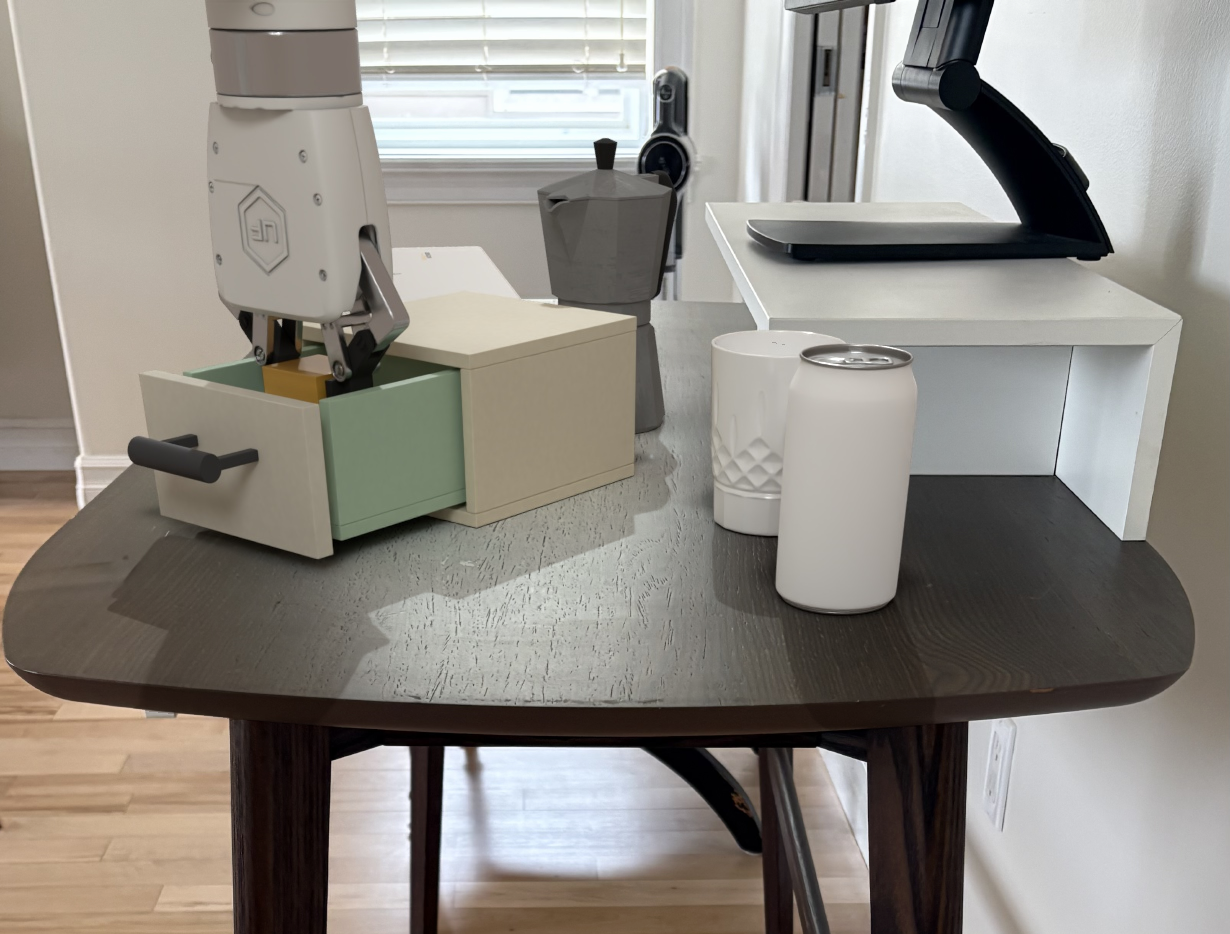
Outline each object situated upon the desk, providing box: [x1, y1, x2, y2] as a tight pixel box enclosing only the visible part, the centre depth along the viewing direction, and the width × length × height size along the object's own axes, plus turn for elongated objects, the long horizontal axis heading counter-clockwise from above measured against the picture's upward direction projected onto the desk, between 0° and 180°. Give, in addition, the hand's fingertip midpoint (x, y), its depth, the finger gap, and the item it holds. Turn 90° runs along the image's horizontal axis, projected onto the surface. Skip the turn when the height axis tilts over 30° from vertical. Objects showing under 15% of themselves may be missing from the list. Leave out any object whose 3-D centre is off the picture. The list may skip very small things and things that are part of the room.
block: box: [262, 354, 334, 451], centre depth 91 cm, size 4×4×4 cm
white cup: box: [710, 329, 849, 537], centre depth 93 cm, size 8×8×10 cm
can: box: [775, 343, 919, 616], centre depth 81 cm, size 6×6×12 cm
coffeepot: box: [536, 137, 678, 434], centre depth 112 cm, size 15×9×18 cm, turn 146°
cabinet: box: [302, 291, 637, 528], centre depth 100 cm, size 16×15×10 cm
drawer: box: [127, 343, 466, 560], centre depth 91 cm, size 19×13×8 cm
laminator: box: [392, 245, 522, 302], centre depth 134 cm, size 34×12×6 cm, turn 10°
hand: (323, 439), depth 92 cm, fingers closed on block, 4 cm apart
